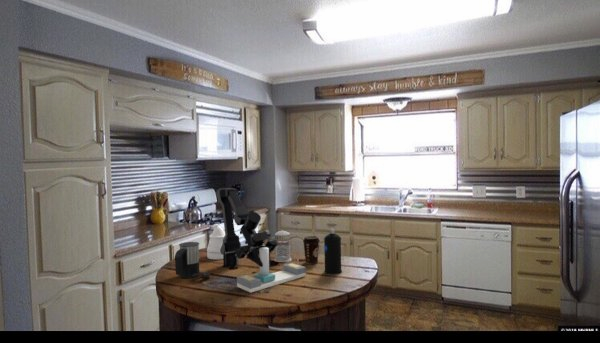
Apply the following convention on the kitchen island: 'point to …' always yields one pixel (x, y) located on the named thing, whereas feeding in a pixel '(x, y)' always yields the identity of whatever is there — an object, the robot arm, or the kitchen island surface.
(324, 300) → the kitchen island surface
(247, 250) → the robot arm
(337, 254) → the aerosol can
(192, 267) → the milk frother
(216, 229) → the white jug
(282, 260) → the french press
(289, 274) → the rail
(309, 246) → the coffee cup
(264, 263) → the carriage
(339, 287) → the kitchen island surface
